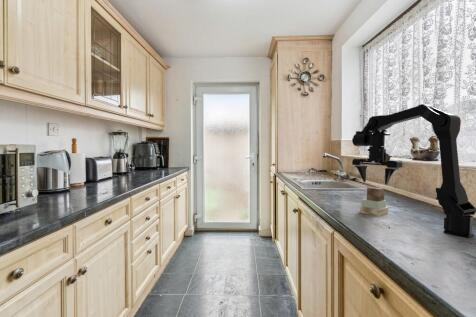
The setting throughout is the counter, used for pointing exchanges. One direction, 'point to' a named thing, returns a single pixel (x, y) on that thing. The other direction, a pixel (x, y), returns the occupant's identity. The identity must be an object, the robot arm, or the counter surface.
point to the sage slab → (373, 204)
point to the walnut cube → (375, 193)
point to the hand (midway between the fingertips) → (375, 183)
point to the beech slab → (374, 211)
